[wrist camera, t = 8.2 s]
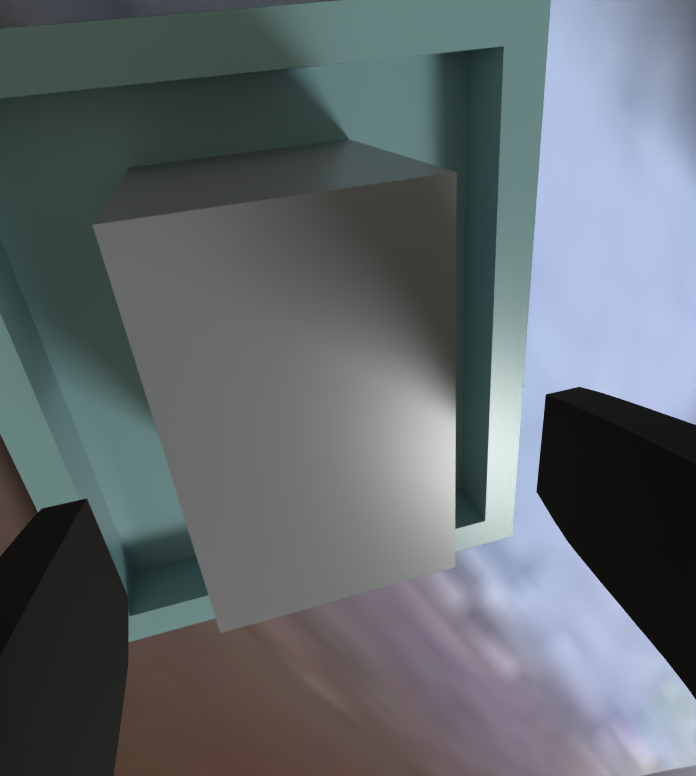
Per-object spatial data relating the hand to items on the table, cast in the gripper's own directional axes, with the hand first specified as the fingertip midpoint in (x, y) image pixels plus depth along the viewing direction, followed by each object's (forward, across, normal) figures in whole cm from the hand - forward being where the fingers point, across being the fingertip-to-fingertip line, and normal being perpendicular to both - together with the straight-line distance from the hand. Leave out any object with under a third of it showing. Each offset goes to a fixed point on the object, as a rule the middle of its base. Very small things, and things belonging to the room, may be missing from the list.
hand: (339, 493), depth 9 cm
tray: (+8, 0, +1) cm, 8 cm away
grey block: (+7, 0, 0) cm, 7 cm away
